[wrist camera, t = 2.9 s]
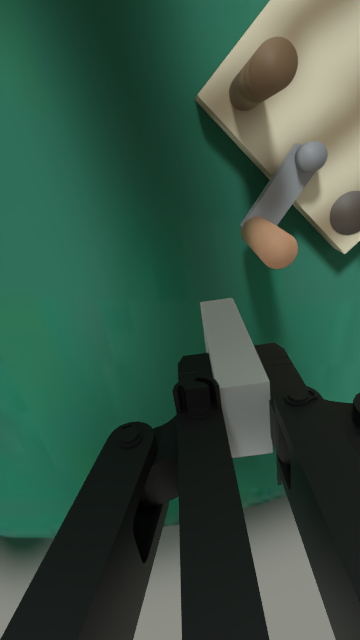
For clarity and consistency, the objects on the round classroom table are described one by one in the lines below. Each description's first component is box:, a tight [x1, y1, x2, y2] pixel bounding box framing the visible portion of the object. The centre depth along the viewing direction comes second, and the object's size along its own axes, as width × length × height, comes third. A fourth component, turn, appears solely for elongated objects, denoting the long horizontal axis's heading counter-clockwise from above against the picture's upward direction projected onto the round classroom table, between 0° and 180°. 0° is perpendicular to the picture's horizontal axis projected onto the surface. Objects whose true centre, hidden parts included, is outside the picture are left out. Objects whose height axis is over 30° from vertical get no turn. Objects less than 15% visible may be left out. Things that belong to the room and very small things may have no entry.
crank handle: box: [240, 141, 328, 269], centre depth 25 cm, size 9×2×8 cm, turn 148°
